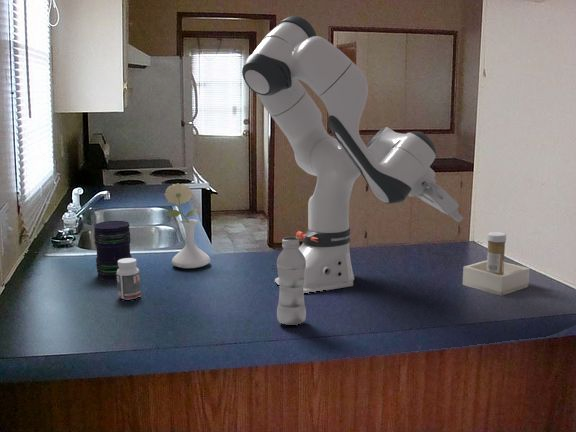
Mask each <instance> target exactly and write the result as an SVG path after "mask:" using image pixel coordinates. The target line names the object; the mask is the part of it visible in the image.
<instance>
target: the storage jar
mask: <svg viewBox="0 0 576 432" xmlns="http://www.w3.org/2000/svg"><path fill="white" fill-rule="evenodd" d="M93 229H94V230H93V233H94V234H93V237H94V238H93V239H94V245H95V246H96V247H95V248H96V249H95V250H96V259H95V262H96V264H95V265H96V266H95V267H96V270H97V278H98V279H99V280H101V281H117V270H118V269H119V266H118V260H120V259H124V258H133V256H132V255H131V247H130V246H131V244H130V243H131V240H132V239H131V231H130V223H129V221H124V220H107V221H106V220H105V221H101V222H98V223H95V224H94V225H93Z"/></svg>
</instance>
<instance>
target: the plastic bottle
mask: <svg viewBox="0 0 576 432" xmlns="http://www.w3.org/2000/svg"><path fill="white" fill-rule="evenodd" d="M300 246H301V245H300V239H299V238H298V237H296V236H287V237H283V238H282V244H281V247H282V248H283V249H282V251H281V252H280V253H279V255H278V257H277V259H276V267H277V270H276V271H277V275H278V277H279V285H280V286H278V287H279V288H278V289H279V292H278V293H279V294H278V303H277V309H276V318H277V321H278V322H279V323H280V324H281V323H282V324H286V325H296V326H299V325H298V324H300V325H302V324H303V323H304V322H305V321H306V316H307V309H306V303H305V295H304V293H303V284H304V274H305V266H306V260H305V257H304V255H303V254H302V253H301V251H300V250H299V247H300ZM301 323H302V324H301ZM282 324H281V325H282ZM286 325H285V326H286Z"/></svg>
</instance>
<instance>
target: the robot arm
mask: <svg viewBox="0 0 576 432" xmlns="http://www.w3.org/2000/svg"><path fill="white" fill-rule="evenodd" d="M241 73H242V74H241V75H242V78H243V80H244V82H245V84H246V86H247V87H248V88H249V89H250V90H251V91H252V92H254V93H255V94H256V95H257V96H258V98H259V100H260V102H261V104H262V105H263V107H264V108H265V110H266V111H267V113H268V114H269V116H270V117H271V119H272V120H273V121H274V123H276V125H277V126H278V128H279V129H280V130H281V132H282V133H283V135H284V136H285V137H286V138H287V141H288V143H289V144H290V146H291V148H292V151H293V153H294V159H295V162H296V164H297V166H298V167H299V168H300V169H302V170H303V171H304V173H307V174H308V175H311V176H315V177H316V182H315V183H316V184H315V186H314V187H315V188H314V191H313V194H312V195H311V196H310V197H309V200H308V202H307V206H308V207H307V209H308V210H307V211H308V212H307V218H308V219H307V220H308V222H307V223H308V227H307V228H306V231H305V232H302V231H300V230H298V231H297V232H296V234H295V237H297V238H299V240H302V244H301V245H300V247H299V250H300V251H301V253H302V254H303V255H304V257H305V260H306V266H305V274H304V284H303V293H308V294H310V293H309V292H314V293H317V292H316V291H320V292H324V291H323V290H326V291H330V290H335V289H336V290H337V289H341V288H348V287H353V286H354V280H355V275H354V272H353V267H352V261H351V255H350V254H351V253H350V242H351V228H350V226H349V223H350V221H349V220H350V219H349V218H350V199H351V195H352V192H353V187H354V184H355V183H356V180H357V179H358V178H359V177H360V176H362V177H363V178H364V180H365V182H366V184H367V186H368V187H369V189H370V191H372V194H373V195H375V197H376V198H377V199H378V200H380V201H381V202H383V203H384V204H389V205H390V204H391V205H392V204H398V203H402V202H405V200H406V198H407V197H410V198H413V197H416V198H418V199H420V200H421V201H423V202H424V203H426V204H428V205H429V206H431V207H433V208H435V209H437V210H438V211H440V213H442V214H443V215H444V216H446V215H447V216H450V217H451V218H452V219H453V220H454V221H455V222H457V223H460V222H462V220H463V219H464V217H463V216H462V214H461V213H460V212H459V211H458V208H459V206H460V205H459V203H457V201H456V200H455V199H454V198H453V197H452V196H451V195H450V194H449V193H447V192H446V191H445V189H443V188H442V187H441V186H439V185H438V184H436V181H437V179H435V177H436V172H435V171H434V170H433V169H432V168H431V165H432V164H433V162H434V161H435V160H436V158H437V148H436V146H435V144H434V142H433V141H432V140H431V139H430V138H429V137H428V136H427V135H426V134H425V133H424V132H423V131H408V132H406V133H401V132H396V131H394V130H393V129H392V128H390V127H389V126H385V127H383V128H381V129H379V130H378V131H377V133H376V134H375V135H373V137H372V139H370V141H369V142H368V143H367V145H366V144H365V142H364V141H363V139H362V137H361V134H360V123H361V122H360V121H361V118H362V114H363V112H364V109H365V107H366V105H367V101H368V95H369V84H368V80H367V77H366V75H365V74H364V73H363V72H362V70H361V69H360V68H359V67H358V65H356V64H355V62H353V61H352V59H350V58H349V57H348V56H347V55H346V54H345V53H344V52H343V51H342V50H341V49H339V48H338V47H337V46H336V45H334V44H333V43H331V42H330V41H328V40H327V39H325V38H324V37H322V36H319V35H318V36H317V33H316V31H315V29H314V27H313V26H312V24H311V23H310V22H309V21H308V20H307V19H305V18H303V17H300V16H298V15H291V16H289V17H286V18H284V19H282V20H281V21H279V22H278V23H277V25H276V26H275V27H273V29H271V30H270V31H269V32H268V33H267V34H266V35H265V36H264V37H263V38H262V39H261V41H260V43H259V44H258V45H257V46H256V48H255V49H254V51H252V54H250V55H248V57H247V59H246V60H245V61H244V64H243V66H242V70H241ZM300 81H301V82H303V83H304V84H306V85H307V86H308V87H309V88H310V89H311V90H312V92H314V94H316V95H317V96H318V98H320V100H321V101H322V103H323V105H324V106H325V108H326V111H327V113H328V120H327V125H328V128H329V129H330V131H331V133H332V135H333V136H331V135H330V133H328V132H327V130H326V129H325V126H324V124H323V120H322V119H323V118H322V117H323V115H322V112H321V110H320V108H319V107H318V105H317V104H316V102H315V101H314V100H313V98H312V97H311V95H310V94H309V93H308V90H306V88H305V87H304V86H303V84H302V83H301V82H300ZM275 282H276V283H277V284H278V285H279V276H278V277H276V278H274V283H275Z"/></svg>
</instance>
